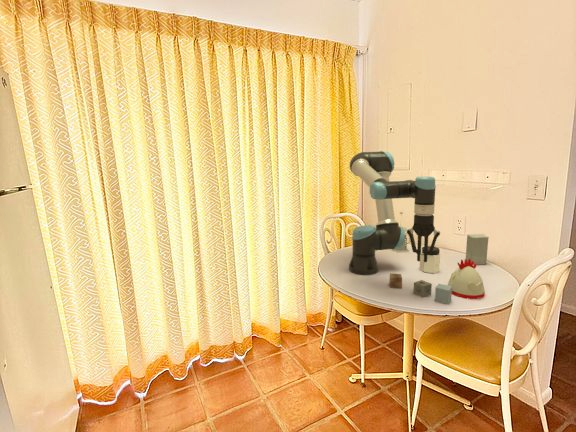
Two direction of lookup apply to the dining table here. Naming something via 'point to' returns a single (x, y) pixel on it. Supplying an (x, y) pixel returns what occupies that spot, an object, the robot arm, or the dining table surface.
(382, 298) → the dining table surface
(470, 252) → the skincare box
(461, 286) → the kitchen timer
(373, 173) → the robot arm
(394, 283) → the walnut block
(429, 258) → the jar
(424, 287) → the dice cube
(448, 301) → the slate block
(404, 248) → the french press
